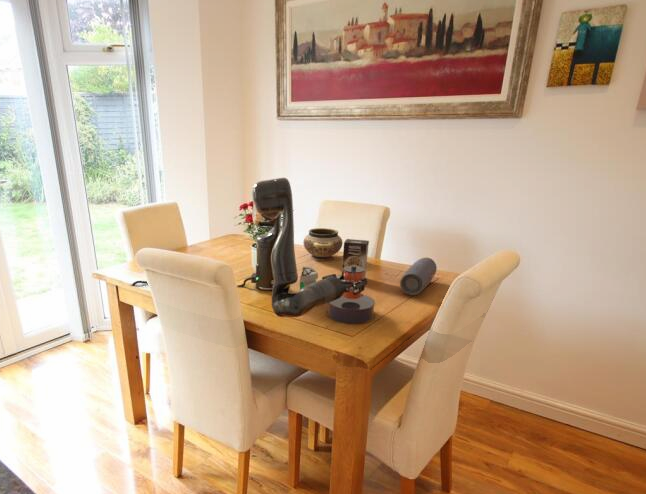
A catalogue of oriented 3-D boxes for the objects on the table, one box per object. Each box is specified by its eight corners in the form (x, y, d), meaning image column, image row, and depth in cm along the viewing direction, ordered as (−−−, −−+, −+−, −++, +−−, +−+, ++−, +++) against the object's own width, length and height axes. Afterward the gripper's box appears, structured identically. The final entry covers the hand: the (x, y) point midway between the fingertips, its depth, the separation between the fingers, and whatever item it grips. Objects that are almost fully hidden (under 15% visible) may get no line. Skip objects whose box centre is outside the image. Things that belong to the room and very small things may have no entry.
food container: (316, 303, 166) (317, 277, 162) (299, 302, 167) (300, 276, 163) (317, 291, 177) (319, 266, 173) (301, 290, 178) (302, 266, 174)
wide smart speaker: (328, 322, 150) (328, 308, 148) (326, 304, 164) (327, 291, 162) (376, 324, 148) (377, 310, 146) (370, 306, 162) (372, 293, 160)
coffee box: (340, 280, 187) (343, 242, 181) (343, 275, 193) (346, 238, 187) (363, 283, 184) (366, 244, 178) (365, 278, 190) (369, 239, 183)
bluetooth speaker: (423, 300, 166) (427, 274, 162) (397, 295, 171) (400, 270, 167) (436, 281, 183) (440, 257, 180) (412, 278, 188) (415, 254, 184)
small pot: (342, 298, 151) (344, 268, 147) (340, 291, 157) (343, 262, 153) (362, 299, 150) (365, 269, 146) (360, 292, 156) (363, 263, 152)
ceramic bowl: (334, 272, 206) (344, 240, 200) (296, 260, 208) (305, 229, 202) (337, 256, 228) (346, 228, 221) (302, 246, 230) (311, 218, 224)
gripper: (345, 285, 136) (377, 272, 147) (308, 274, 146) (340, 263, 157) (343, 308, 139) (374, 294, 150) (307, 296, 149) (338, 283, 160)
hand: (356, 278), depth 153 cm, fingers closed on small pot, 6 cm apart
